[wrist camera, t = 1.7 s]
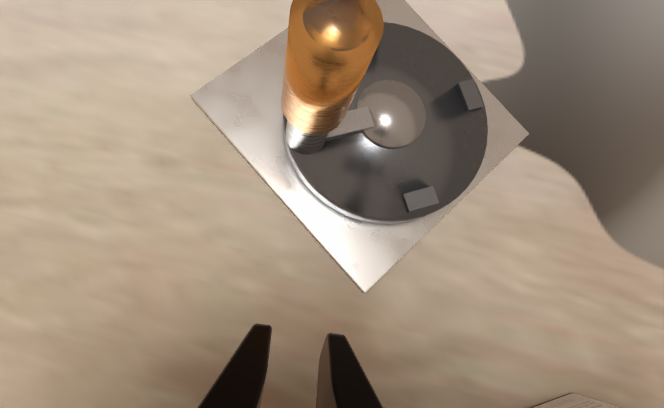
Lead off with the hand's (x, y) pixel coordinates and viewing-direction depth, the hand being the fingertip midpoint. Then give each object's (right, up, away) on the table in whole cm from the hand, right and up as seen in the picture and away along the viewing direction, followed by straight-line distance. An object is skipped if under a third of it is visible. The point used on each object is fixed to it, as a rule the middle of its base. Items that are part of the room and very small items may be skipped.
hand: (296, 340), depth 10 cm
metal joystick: (+4, +8, +16) cm, 19 cm away
